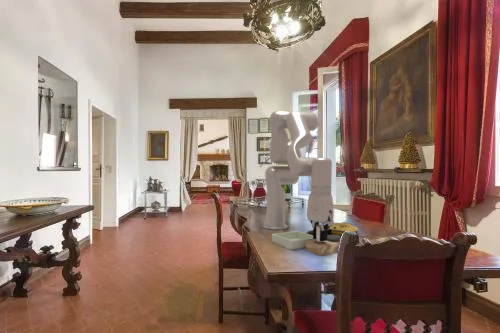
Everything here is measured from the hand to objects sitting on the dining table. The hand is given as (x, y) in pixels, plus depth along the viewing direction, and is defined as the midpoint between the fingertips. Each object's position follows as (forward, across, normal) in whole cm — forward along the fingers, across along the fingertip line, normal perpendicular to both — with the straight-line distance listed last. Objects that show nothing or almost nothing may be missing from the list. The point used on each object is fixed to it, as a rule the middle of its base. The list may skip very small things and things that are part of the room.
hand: (320, 239), depth 118 cm
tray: (+5, -13, -2) cm, 14 cm away
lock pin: (+5, 0, 0) cm, 5 cm away
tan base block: (+5, 0, +4) cm, 6 cm away
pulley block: (+5, -18, +24) cm, 30 cm away
